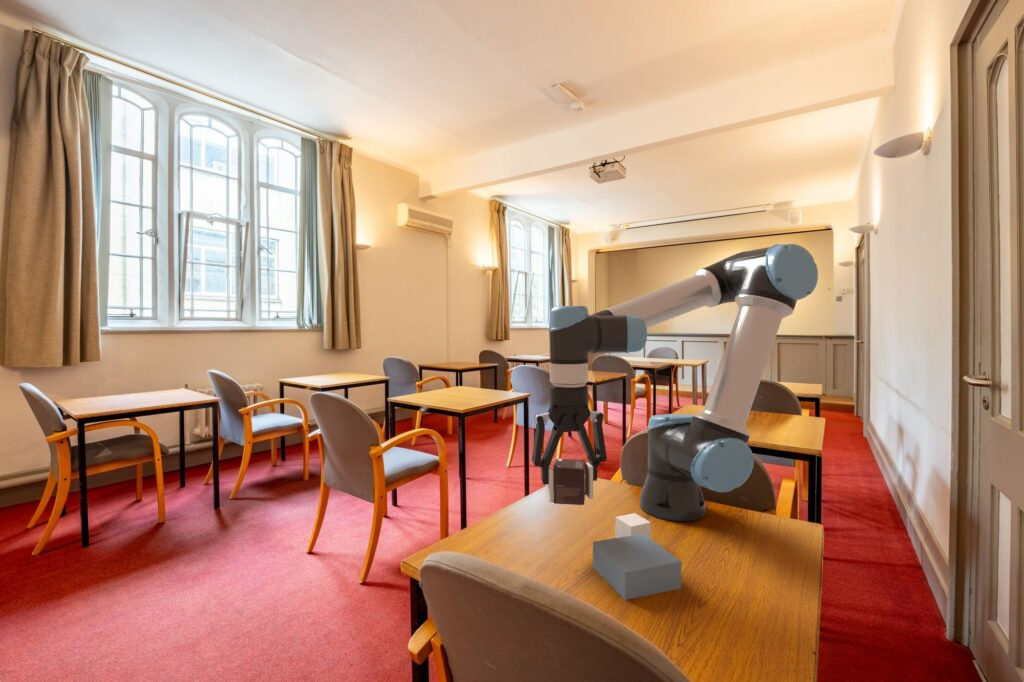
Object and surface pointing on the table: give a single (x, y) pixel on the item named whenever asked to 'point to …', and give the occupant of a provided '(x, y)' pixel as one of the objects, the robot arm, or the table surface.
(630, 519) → the white cube
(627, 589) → the slate block
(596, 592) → the table surface
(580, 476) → the box
